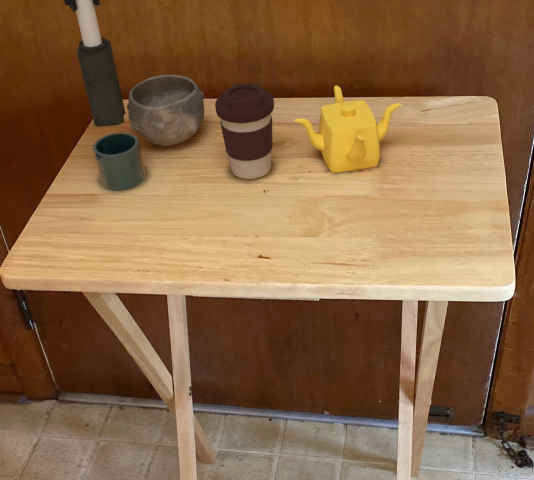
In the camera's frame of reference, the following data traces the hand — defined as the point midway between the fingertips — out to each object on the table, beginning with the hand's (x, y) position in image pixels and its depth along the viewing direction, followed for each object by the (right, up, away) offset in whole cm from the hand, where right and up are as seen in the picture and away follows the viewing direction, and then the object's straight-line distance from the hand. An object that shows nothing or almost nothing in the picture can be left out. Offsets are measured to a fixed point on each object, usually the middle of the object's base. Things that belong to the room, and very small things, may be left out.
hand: (83, 4), depth 126 cm
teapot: (+43, -19, +21) cm, 52 cm away
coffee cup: (+25, -22, +20) cm, 39 cm away
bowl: (+10, -13, +31) cm, 35 cm away
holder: (+2, -23, +21) cm, 32 cm away
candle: (+1, -15, +13) cm, 20 cm away
